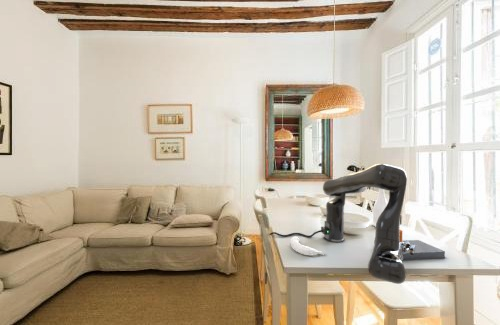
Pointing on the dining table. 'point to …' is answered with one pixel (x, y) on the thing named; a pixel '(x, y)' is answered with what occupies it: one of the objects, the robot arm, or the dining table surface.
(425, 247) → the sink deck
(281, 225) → the dining table surface
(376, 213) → the wine bottle
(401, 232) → the plug
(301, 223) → the dining table surface
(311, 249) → the banana
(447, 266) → the dining table surface
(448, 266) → the dining table surface
